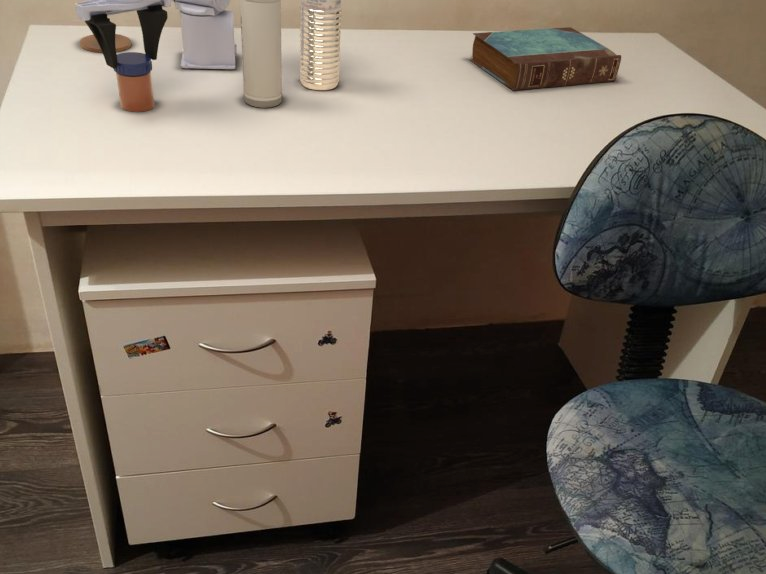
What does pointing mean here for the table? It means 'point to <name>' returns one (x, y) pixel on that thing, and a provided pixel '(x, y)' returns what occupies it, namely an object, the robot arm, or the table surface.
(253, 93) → the travel mug
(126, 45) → the coaster
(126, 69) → the lid
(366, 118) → the table surface
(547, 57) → the book
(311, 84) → the water bottle
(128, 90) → the jar
